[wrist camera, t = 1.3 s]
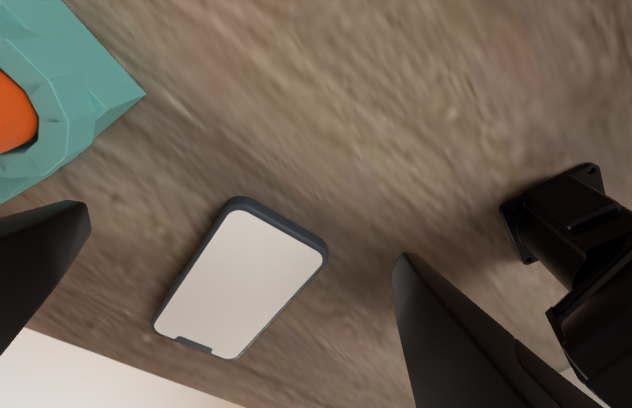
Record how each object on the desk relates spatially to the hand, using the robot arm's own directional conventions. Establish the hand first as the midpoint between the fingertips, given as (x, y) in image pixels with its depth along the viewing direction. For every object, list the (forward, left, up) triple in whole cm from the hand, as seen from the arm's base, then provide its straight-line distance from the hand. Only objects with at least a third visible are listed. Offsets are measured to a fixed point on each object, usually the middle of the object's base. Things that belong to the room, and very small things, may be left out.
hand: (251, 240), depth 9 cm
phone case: (-9, +11, -12) cm, 19 cm away
